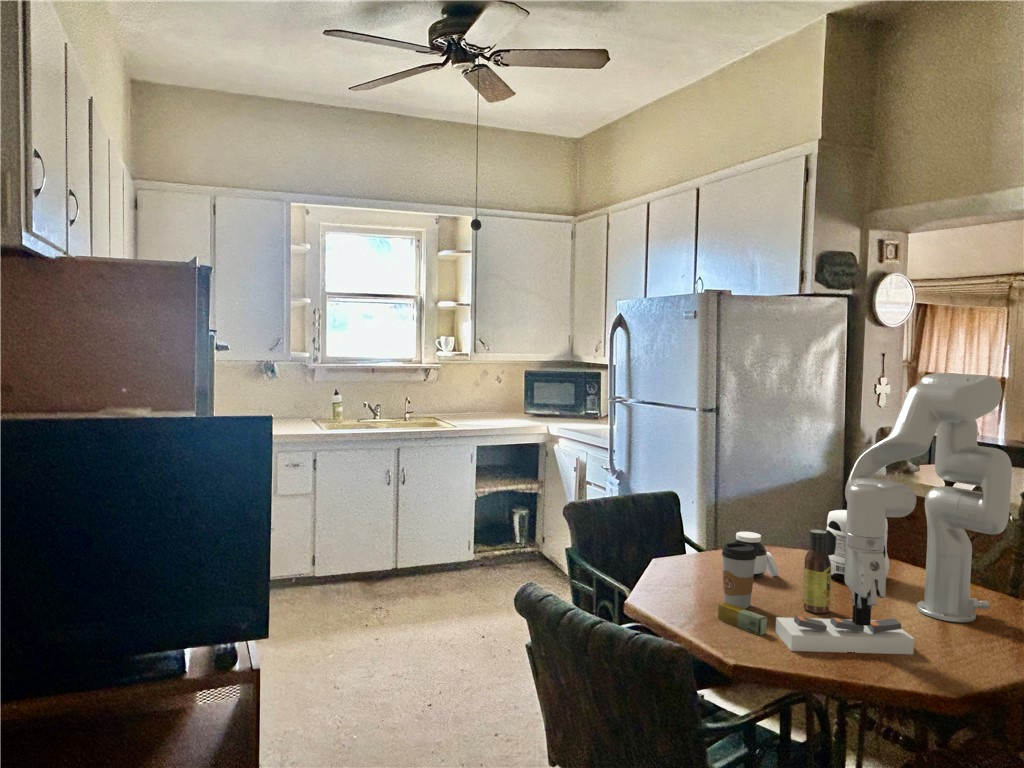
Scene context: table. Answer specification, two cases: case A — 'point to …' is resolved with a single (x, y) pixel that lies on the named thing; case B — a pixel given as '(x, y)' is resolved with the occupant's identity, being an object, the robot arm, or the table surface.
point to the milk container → (843, 543)
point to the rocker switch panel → (842, 639)
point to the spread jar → (758, 553)
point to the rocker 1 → (810, 623)
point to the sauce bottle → (817, 574)
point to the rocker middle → (846, 624)
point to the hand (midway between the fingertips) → (861, 624)
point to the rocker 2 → (884, 625)
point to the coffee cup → (738, 573)
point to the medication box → (742, 618)
